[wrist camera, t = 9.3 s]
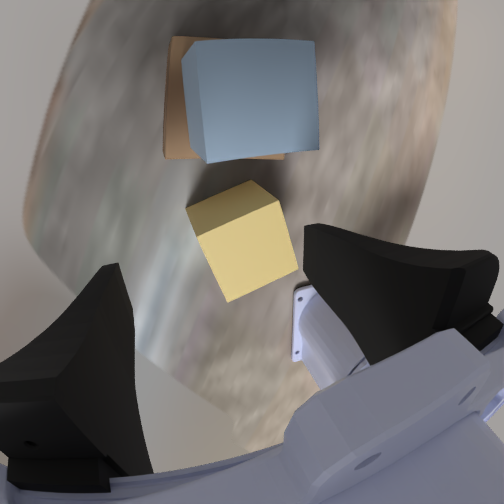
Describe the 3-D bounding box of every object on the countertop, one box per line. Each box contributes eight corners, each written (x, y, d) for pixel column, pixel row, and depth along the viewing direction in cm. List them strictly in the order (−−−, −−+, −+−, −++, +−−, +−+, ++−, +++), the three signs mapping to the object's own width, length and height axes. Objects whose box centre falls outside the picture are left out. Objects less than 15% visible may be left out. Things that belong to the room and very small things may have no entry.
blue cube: (270, 54, 15) (314, 41, 11) (275, 136, 17) (319, 149, 13) (181, 60, 14) (195, 41, 9) (190, 147, 16) (207, 163, 12)
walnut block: (263, 150, 21) (283, 159, 18) (162, 150, 19) (165, 159, 16) (271, 56, 18) (294, 49, 15) (168, 47, 16) (172, 36, 13)
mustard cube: (270, 237, 24) (298, 268, 20) (211, 264, 23) (227, 302, 19) (251, 179, 21) (278, 200, 17) (185, 207, 21) (196, 237, 17)
